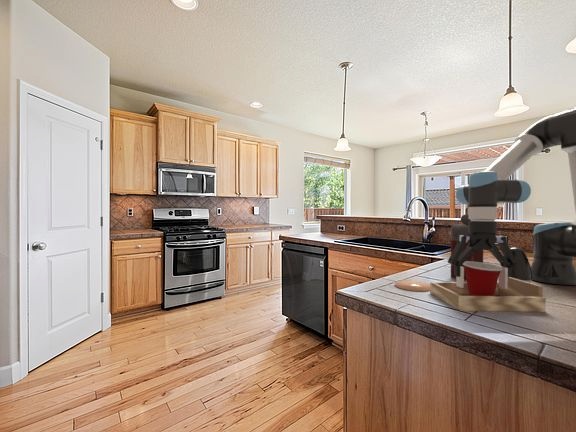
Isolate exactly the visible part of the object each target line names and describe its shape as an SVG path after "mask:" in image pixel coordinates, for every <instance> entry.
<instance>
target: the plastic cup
mask: <svg viewBox="0 0 576 432" xmlns="http://www.w3.org/2000/svg"><path fill="white" fill-rule="evenodd" d="M463 265H464V269H465V274H466V280H465V281H466V282H467V287H468V290H469V294H468V296H495V295H494V293H495V290H496V285H497V283H498V278H499V274H500V272H501V271H502V270H503V268H502V267H500V265H496V264H493V263H492V264H491V263H485V262H483V263H481V262H470V261H466V262H464V263H463Z"/></svg>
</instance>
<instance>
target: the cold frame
mask: <svg viewBox="0 0 576 432" xmlns="http://www.w3.org/2000/svg"><path fill="white" fill-rule="evenodd" d="M429 284H430V291H429V294H431V295H432V296H434V297H436V298H438V299H439V300H441V301H443V302H444V303H446V304H448V305H449V306H452V307H453V308H455V309H456V310H458V311H461V312H468V311H469V312H475V311H476V312H538V313H539V312H541V313H542V312H543V313H545V312H546V297H545V296H543V286H542V285H539V284H535V283H532V282H531V283H529V282H526V281H522V280H519V279H515V278H512V277H508V287H507V289H505V288H502V287H499V277H498V281H497V285H496V290H495V293H494V296H469V290H468V287H467V281H464V288H460V287H458V286H456V281H455V282H454V281H430V282H429Z"/></svg>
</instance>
